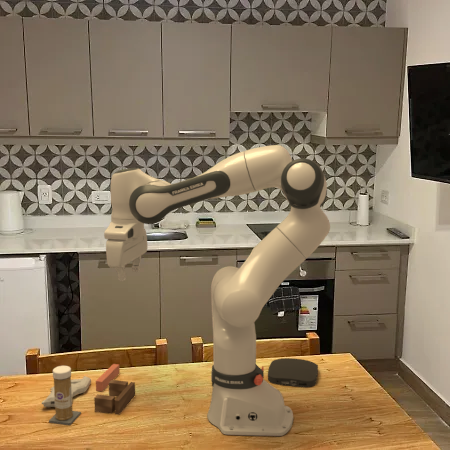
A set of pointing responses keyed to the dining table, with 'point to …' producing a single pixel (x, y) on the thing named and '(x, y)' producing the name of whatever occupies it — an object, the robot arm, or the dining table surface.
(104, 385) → the salmon red bar
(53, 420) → the pad
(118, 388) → the brown u-shaped channel
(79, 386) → the gun
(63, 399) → the sprinkles bottle
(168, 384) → the dining table surface
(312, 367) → the media streaming box
